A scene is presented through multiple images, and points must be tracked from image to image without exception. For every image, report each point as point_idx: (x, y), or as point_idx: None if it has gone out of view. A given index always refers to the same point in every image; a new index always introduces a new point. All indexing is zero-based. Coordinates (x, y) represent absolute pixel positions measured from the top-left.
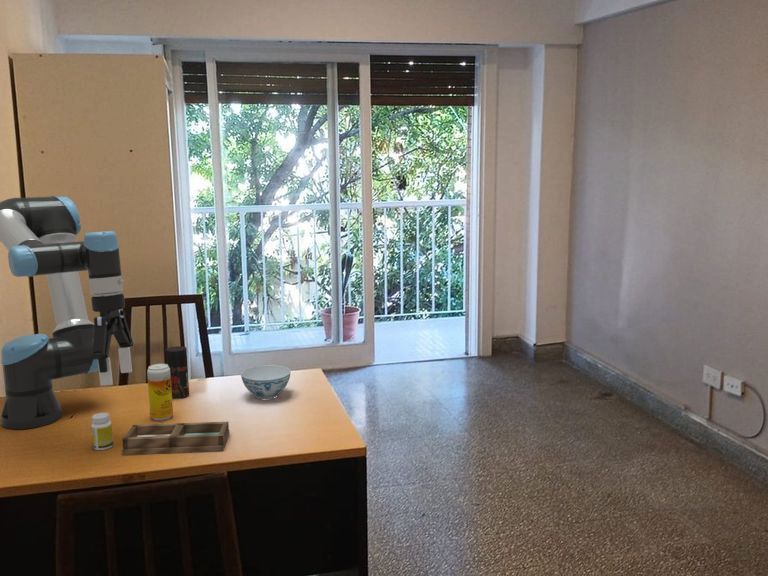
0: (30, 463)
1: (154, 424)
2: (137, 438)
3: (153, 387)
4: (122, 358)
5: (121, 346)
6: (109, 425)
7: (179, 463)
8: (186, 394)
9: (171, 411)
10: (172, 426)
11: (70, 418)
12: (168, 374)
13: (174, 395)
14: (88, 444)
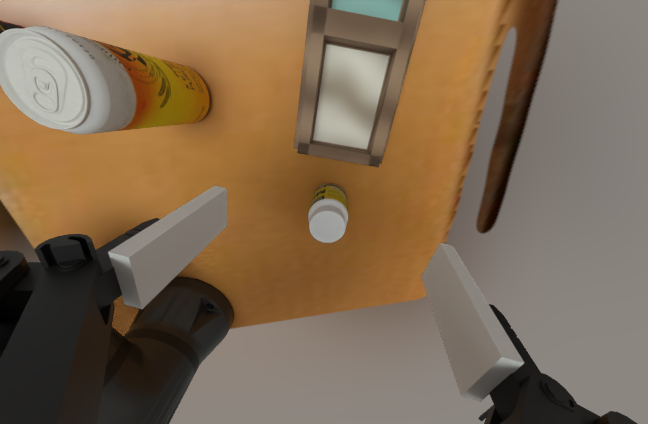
0: (362, 285)
1: (306, 100)
2: (384, 134)
3: (153, 108)
4: (185, 251)
5: (112, 300)
6: (338, 201)
7: (475, 27)
8: None
9: (181, 65)
10: (322, 47)
11: (189, 264)
12: (79, 38)
13: None
14: None
